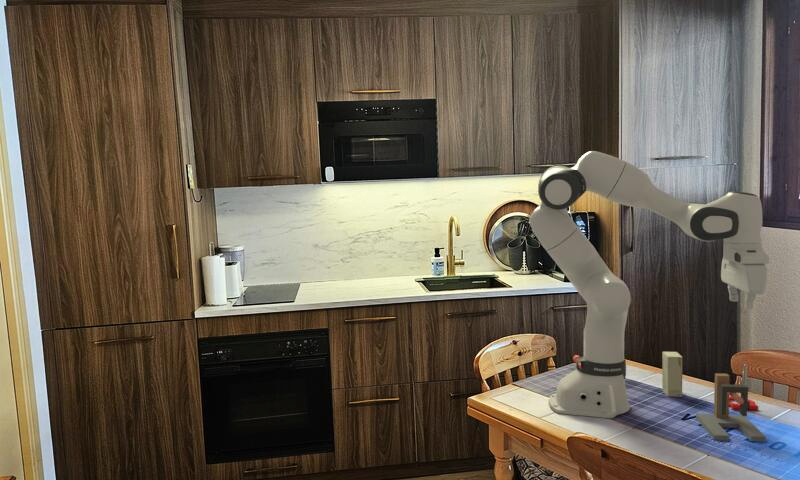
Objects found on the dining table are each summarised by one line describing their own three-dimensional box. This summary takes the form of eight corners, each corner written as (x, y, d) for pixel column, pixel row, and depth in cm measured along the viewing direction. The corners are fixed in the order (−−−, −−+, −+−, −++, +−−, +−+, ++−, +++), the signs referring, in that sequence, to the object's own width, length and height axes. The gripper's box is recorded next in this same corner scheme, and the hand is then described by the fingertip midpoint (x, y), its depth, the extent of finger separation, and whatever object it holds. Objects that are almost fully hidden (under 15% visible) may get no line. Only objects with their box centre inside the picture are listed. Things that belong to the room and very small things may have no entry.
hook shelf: (714, 439, 152) (715, 390, 151) (695, 417, 166) (696, 372, 164) (766, 441, 150) (767, 391, 149) (743, 419, 164) (744, 373, 163)
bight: (721, 415, 155) (722, 386, 154) (718, 412, 157) (720, 384, 156) (746, 416, 154) (748, 387, 153) (743, 413, 156) (745, 385, 155)
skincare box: (682, 397, 181) (683, 357, 180) (667, 397, 182) (667, 357, 180) (676, 390, 187) (677, 351, 186) (661, 389, 188) (662, 350, 187)
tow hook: (717, 400, 179) (729, 410, 170) (717, 356, 179) (730, 364, 170) (748, 400, 178) (761, 411, 169) (748, 357, 177) (762, 365, 168)
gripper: (715, 248, 171) (714, 297, 173) (744, 258, 151) (743, 313, 152) (739, 248, 170) (738, 297, 172) (772, 257, 150) (770, 313, 151)
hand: (740, 304), depth 162 cm, fingers open, 8 cm apart
